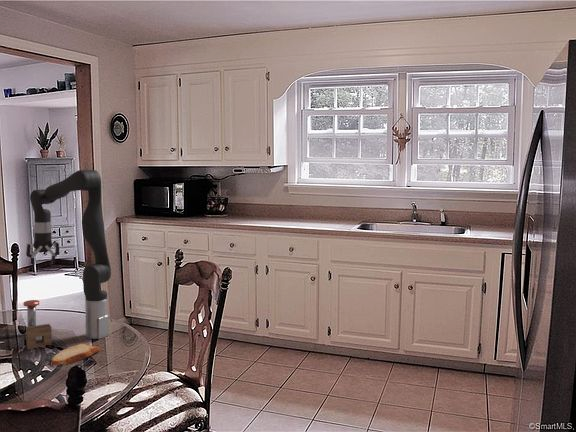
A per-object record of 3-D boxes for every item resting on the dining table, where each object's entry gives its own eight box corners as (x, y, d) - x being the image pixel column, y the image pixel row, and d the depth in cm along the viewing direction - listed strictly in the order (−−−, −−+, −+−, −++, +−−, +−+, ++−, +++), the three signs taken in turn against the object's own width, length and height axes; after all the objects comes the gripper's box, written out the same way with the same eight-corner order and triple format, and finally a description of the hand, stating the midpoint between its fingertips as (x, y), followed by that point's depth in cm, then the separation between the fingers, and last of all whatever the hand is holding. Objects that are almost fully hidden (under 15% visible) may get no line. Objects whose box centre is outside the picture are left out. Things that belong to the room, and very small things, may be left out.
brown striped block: (26, 345, 219) (26, 327, 218) (49, 342, 224) (49, 323, 224) (28, 349, 215) (27, 330, 214) (51, 345, 220) (51, 327, 219)
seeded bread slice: (49, 368, 199) (49, 359, 198) (54, 351, 215) (54, 342, 215) (99, 364, 204) (99, 355, 204) (100, 348, 221) (100, 339, 221)
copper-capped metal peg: (23, 332, 235) (22, 301, 233) (38, 329, 238) (38, 299, 237) (27, 341, 223) (27, 309, 222) (44, 338, 227) (43, 307, 225)
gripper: (27, 233, 239) (28, 267, 241) (60, 231, 248) (60, 264, 249) (24, 230, 245) (25, 264, 247) (57, 229, 254) (57, 261, 255)
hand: (43, 264), depth 248 cm, fingers open, 8 cm apart
